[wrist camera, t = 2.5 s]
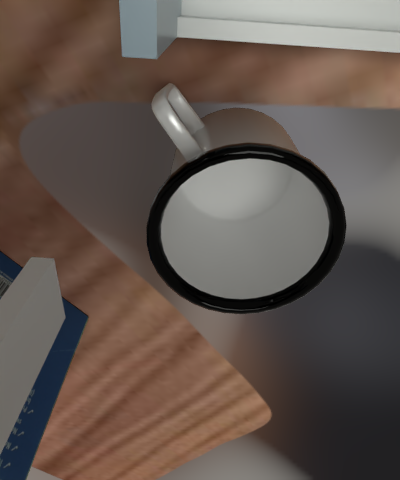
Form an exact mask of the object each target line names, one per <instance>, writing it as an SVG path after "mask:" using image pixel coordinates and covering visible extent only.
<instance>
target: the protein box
mask: <svg viewBox="0 0 400 480" xmlns="http://www.w3.org/2000/svg"><path fill="white" fill-rule="evenodd" d="M22 269H23V268H22V267H20V266H19V265H18V264H16V263H15V262H14V261H12V260H11V259H10V258H8V257H7V256H6V255H4V254H3V253H2V252H0V299H1V298H2V296H3V295H4V294H5V292H6V291H7V290H8V288H9V287H10V285H11V284H12V283H13V281H14V280H15V279H16V277H17V276H18V274H19V273H20V272H21V270H22ZM62 302H63V307H64V312H65V320H64V322H63V324H62V326H61V328H60V330H59V332H58V334H57V336H56V339H55V341H54V343H53V345H52V347H51V349H50V351H49V353H48V355H47V357H46V360H45V362H44V364H43V366H42V368H41V370H40V372H39V374H38V376H37V379H36V381H35V383H34V385H33V387H32V389H31V391H30V393H29V395H28V397H27V400H26V402H25V404H24V406H23V408H22V410H21V412H20V414H19V416H18V419H17V421H16V423H15V425H14V427H13V429H12V431H11V433H10V435H9V438H8V440H7V442H6V444H5V446H4V448H3V450H2V452H1V454H0V480H26V479H27V476H28V473H29V471H30V468H31V466H32V463H33V460H34V458H35V455H36V452H37V450H38V447H39V444H40V442H41V439H42V437H43V434H44V432H45V429H46V426H47V424H48V421H49V419H50V416H51V413H52V411H53V408H54V406H55V403H56V401H57V398H58V395H59V393H60V390H61V388H62V385H63V382H64V380H65V377H66V375H67V372H68V369H69V367H70V365H71V362H72V359H73V357H74V354H75V351H76V349H77V346H78V344H79V341H80V339H81V336H82V334H83V331H84V328H85V326H86V323H87V321H88V316H87V315H85V314H84V313H83V312H81V311H80V310H78V309H77V308H76V307H74V306H73V305H72V304H70V303H69V302H68V301H66V300H65V299H64V298H62Z"/></svg>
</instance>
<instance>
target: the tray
mask: <svg viewBox="0 0 400 480" xmlns="http://www.w3.org/2000/svg"><path fill="white" fill-rule="evenodd" d="M119 8H120V26H121V45H122V57H133V58H148V59H158V58H159V56H160V55H161V54H162V53H163V52H164V51H165V50H166V49H167V48H168V47H169V45H170V44H171V43H172V42H173V41H174V40H175V39H176V38H177V37H183V38H197V39H211V40H225V41H240V42H254V43H268V44H282V45H297V46H311V47H325V48H339V49H354V50H368V51H382V52H396V53H400V0H119Z"/></svg>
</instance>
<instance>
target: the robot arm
mask: <svg viewBox="0 0 400 480" xmlns="http://www.w3.org/2000/svg"><path fill="white" fill-rule="evenodd" d="M64 320H65V312H64V307H63V302H62V297H61V292H60V287H59V282H58V277H57V272H56V267H55V261H54V258H39V257H31V258H30V259H29V261H28V262H27V263H26V265H25V266H24V268H23V269H22V270H21V272H20V273H19V274H18V276H17V277H16V279H15V280H14V281H13V283H12V284H11V285H10V287H9V288H8V290H7V291H6V292H5V294H4V295H3V296H2V298H1V299H0V454H1V452H2V450H3V448H4V446H5V444H6V442H7V440H8V438H9V435H10V433H11V431H12V429H13V427H14V425H15V423H16V421H17V419H18V416H19V414H20V412H21V410H22V408H23V406H24V404H25V402H26V400H27V397H28V395H29V393H30V391H31V389H32V387H33V385H34V383H35V381H36V379H37V376H38V374H39V372H40V370H41V368H42V366H43V364H44V362H45V360H46V357H47V355H48V353H49V351H50V349H51V347H52V345H53V343H54V341H55V339H56V336H57V334H58V332H59V330H60V328H61V326H62V324H63V322H64Z"/></svg>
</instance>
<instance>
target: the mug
mask: <svg viewBox="0 0 400 480" xmlns="http://www.w3.org/2000/svg"><path fill="white" fill-rule="evenodd" d="M169 103H170V104H171V106H172V107H173V109H174V110H175V112H176V113H177V115H178V116H179V118H180V119H181V120H180V119H179V118H178V116H177V115H176V113H175V112H174V111H173V109H172V108H171V106H170V104H169ZM151 107H152V111H153V113H154V115H155V116H156V118H157V120H158V121H159V123H160V124H161V126H162V127H163V128H164V130H165V131H166V133H167V134H168V135H169V137H170V138H171V139H172V141H173V142H174V144H175V145H176V146H177V148H176V151H175V155H174V159H173V164H172V168H171V173H170V176H169V178H168V179H167V180H166V182H165V183H164V184H163V185H162V187H161V188H160V189H159V191H158V193H157V195H156V197H155V199H154V201H153V203H152V205H151V208H150V213H149V217H148V222H147V247H148V251H149V255H150V259H151V261H152V263H153V265H154V267H155V269H156V271H157V273H158V274H159V276H160V277H161V278H162V279H163V281H164V282H165V283H166V284H167V286H169V287H170V288H171V289H172V290H173V291H174V292H176V293H177V294H178V295H179V296H181V297H183V298H184V299H186V300H188V301H189V302H191V303H193V304H195V305H198V306H201V307H203V308H206V309H208V310H213V311H218V312H222V313H234V314H249V313H259V312H264V311H268V310H273V309H276V308H279V307H282V306H285V305H287V304H290V303H292V302H294V301H296V300H297V299H299V298H301V297H303V296H305V295H306V294H307V293H309V292H310V291H311V290H313V289H314V288H315V287H316V286H318V285H319V284H320V283H321V282H322V280H323V279H324V278H325V277H326V276H327V275H328V274H329V273H330V272H331V270H332V268H333V267H334V265H335V263H336V262H337V260H338V259H339V256H340V253H341V250H342V248H343V245H344V241H345V233H346V219H345V211H344V207H343V204H342V202H341V199H340V197H339V194H338V192H337V190H336V188H335V186H334V185H333V183H332V182H331V180H330V179H329V178H328V176H327V175H326V173H325V172H324V171H323V170H321V169H320V168H319V167H318V166H317V165H315V164H314V163H313V162H312V161H311V160H310V159H308V158H306V157H304V156H302V155H300V153H299V152H298V150H297V148H296V147H295V145H294V143H293V142H292V140H291V138H290V136H289V135H288V134H287V132H286V131H285V130H284V128H283V127H282V126H281V125H280V124H279V123H277V122H276V121H275V120H274V119H273V118H271V117H269V116H267V115H265V114H264V113H262V112H258V111H255V110H252V109H245V108H230V109H223V110H220V111H216V112H213V113H211V114H208V115H207V116H205V117H203V118H201V119H200V118H199V116H198V115H197V114H196V112H195V111H194V110H193V108H192V107H191V106H190V104H189V103H188V102H187V100H186V99H185V98H184V96H183V95H182V94H181V92H180V91H179V89H178V88H177V87H176V86H175V85H174V84H172V83H169V84H167V85H166V86H165V87H163V88H162V89H161V90H160V91H159V92H157V93H156V94H155V96H154V98H153V101H152V104H151ZM181 121H182V122H183V123H182V122H181ZM184 125H185V126H184Z"/></svg>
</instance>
